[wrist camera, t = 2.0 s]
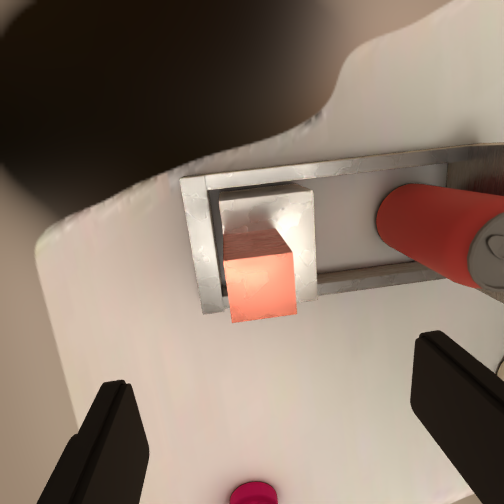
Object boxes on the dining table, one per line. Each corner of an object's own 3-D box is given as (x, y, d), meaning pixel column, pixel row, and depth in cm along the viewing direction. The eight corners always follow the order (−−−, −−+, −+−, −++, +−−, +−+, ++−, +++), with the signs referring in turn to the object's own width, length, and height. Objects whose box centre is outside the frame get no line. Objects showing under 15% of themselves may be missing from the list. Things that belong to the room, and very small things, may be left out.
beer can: (399, 169, 29) (512, 180, 18) (449, 202, 31) (584, 231, 19) (360, 229, 31) (442, 274, 19) (410, 258, 32) (513, 315, 21)
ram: (295, 183, 28) (343, 202, 17) (300, 273, 31) (344, 341, 20) (219, 192, 28) (217, 217, 16) (231, 282, 31) (236, 357, 19)
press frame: (479, 143, 29) (587, 138, 20) (464, 265, 33) (549, 304, 24) (183, 176, 27) (166, 186, 19) (204, 299, 31) (197, 354, 23)
